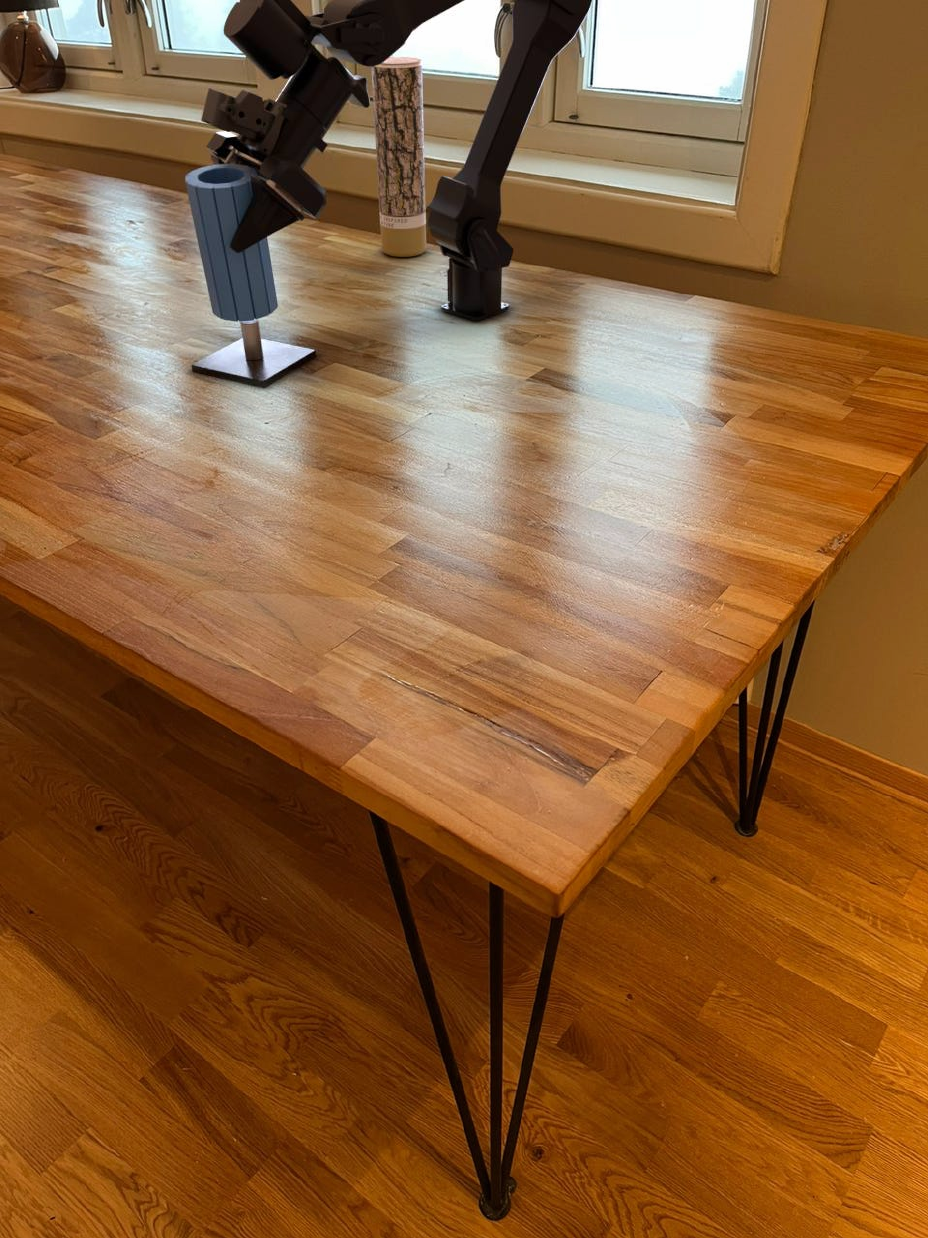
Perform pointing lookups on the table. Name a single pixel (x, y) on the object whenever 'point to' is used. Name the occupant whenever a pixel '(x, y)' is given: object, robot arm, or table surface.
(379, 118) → the paper tube
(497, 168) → the robot arm
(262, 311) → the blue fluted tube
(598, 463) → the table surface
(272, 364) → the peg stand
